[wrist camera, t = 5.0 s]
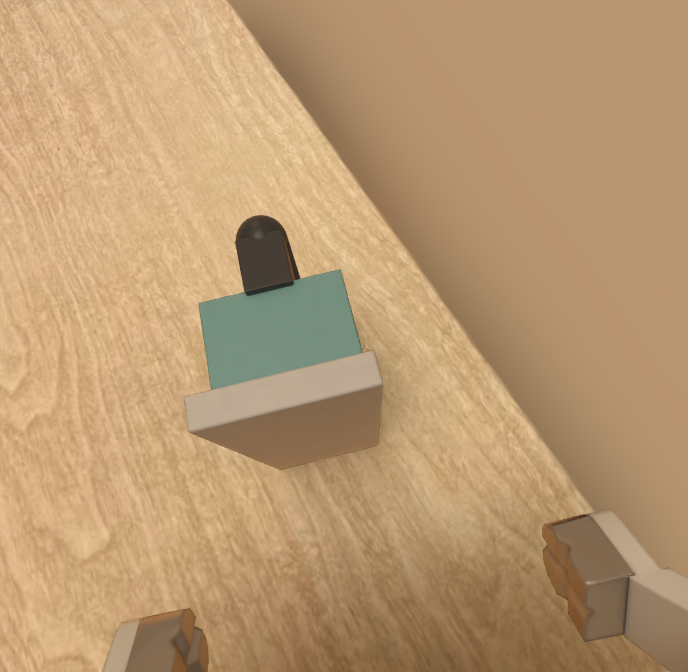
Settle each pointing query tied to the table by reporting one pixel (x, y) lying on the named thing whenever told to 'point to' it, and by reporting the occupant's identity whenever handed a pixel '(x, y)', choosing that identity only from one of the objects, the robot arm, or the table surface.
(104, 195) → the table surface
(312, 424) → the iron
